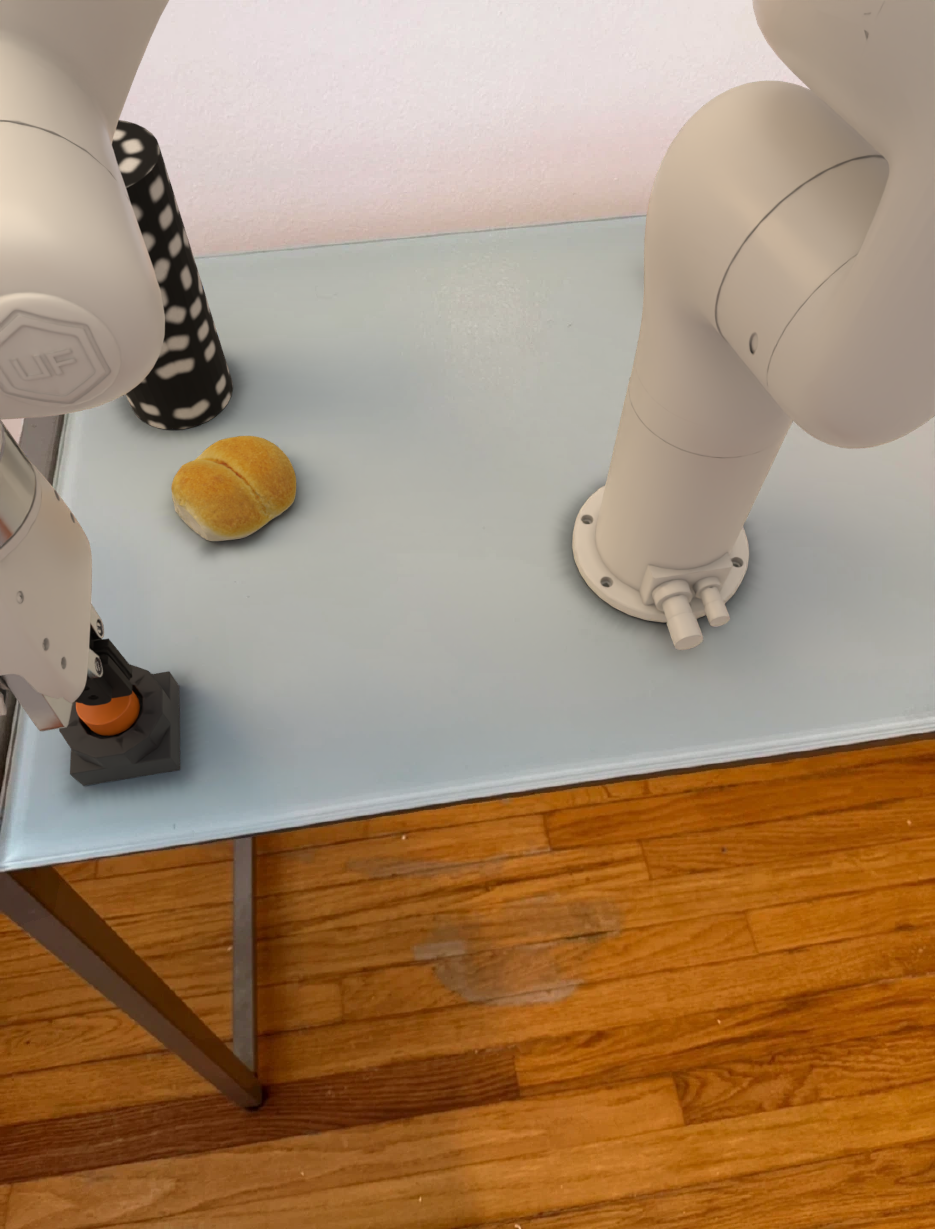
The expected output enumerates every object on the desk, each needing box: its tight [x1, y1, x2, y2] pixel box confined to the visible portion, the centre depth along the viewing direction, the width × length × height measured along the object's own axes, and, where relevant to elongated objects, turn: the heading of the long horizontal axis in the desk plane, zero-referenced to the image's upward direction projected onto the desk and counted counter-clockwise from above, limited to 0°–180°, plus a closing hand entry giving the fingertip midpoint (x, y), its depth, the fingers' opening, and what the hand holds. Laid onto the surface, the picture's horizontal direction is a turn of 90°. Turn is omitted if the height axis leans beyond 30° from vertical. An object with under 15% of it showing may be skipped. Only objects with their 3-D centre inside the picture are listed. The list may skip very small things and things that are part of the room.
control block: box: [58, 664, 181, 787], centre depth 54 cm, size 6×6×4 cm
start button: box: [76, 691, 140, 736], centre depth 52 cm, size 3×3×2 cm
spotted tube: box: [112, 119, 234, 431], centre depth 62 cm, size 8×8×20 cm
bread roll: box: [170, 435, 297, 542], centre depth 64 cm, size 8×9×4 cm
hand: (106, 686), depth 50 cm, fingers closed
